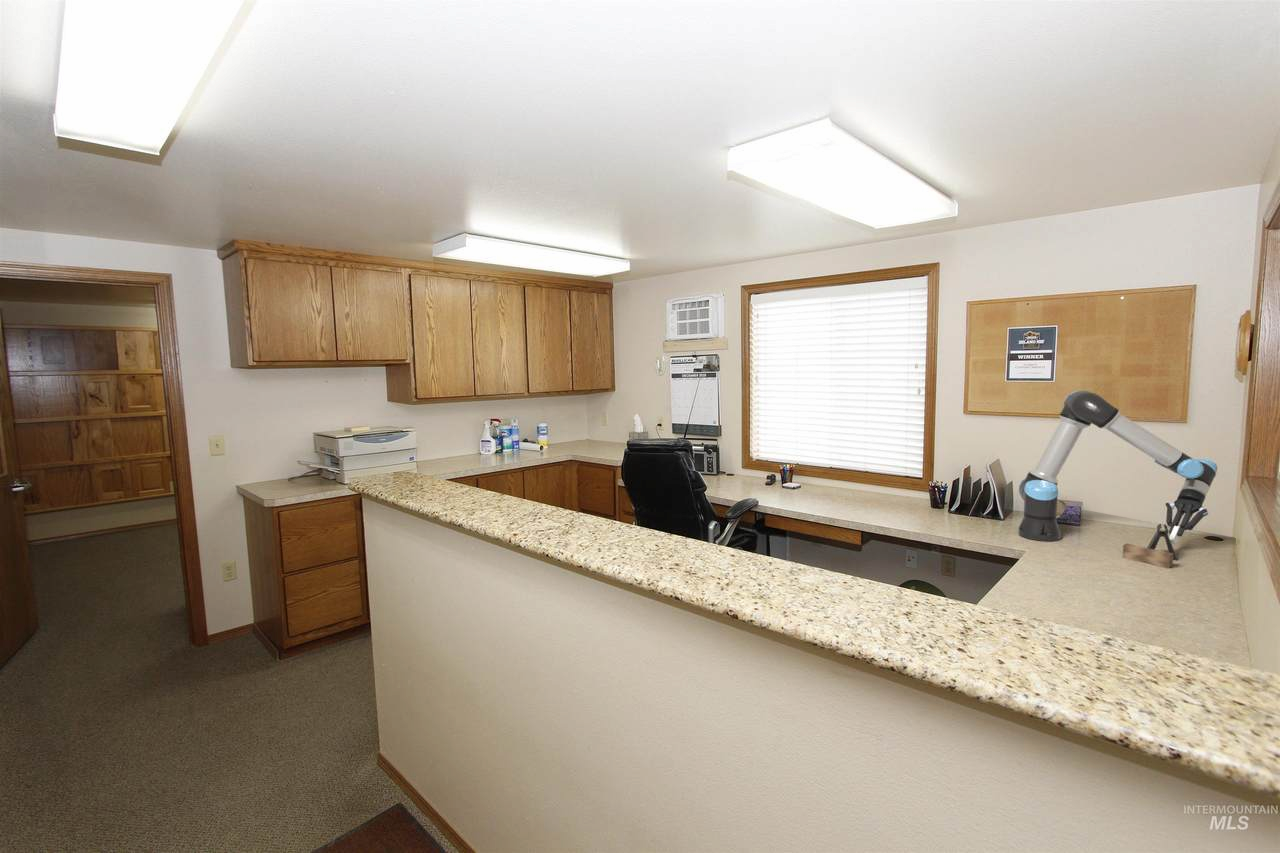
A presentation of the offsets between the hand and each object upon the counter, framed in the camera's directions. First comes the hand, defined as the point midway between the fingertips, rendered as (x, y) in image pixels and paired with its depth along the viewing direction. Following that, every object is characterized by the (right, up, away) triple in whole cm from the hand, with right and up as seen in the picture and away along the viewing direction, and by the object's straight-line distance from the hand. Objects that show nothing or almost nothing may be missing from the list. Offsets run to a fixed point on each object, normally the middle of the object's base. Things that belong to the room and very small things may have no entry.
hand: (1171, 541), depth 228 cm
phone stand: (-8, -5, -4) cm, 10 cm away
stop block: (-18, -6, -9) cm, 21 cm away
